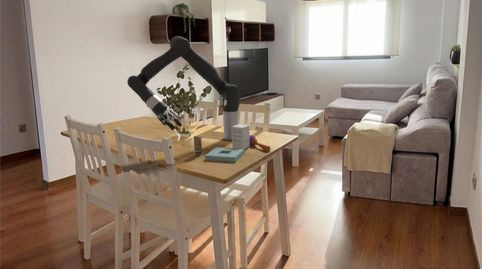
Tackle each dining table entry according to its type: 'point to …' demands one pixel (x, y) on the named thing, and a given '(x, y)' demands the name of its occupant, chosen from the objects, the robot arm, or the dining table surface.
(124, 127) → the dining table surface
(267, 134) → the dining table surface
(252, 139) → the kendama
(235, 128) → the supplement box
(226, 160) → the board
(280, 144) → the dining table surface
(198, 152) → the peg
